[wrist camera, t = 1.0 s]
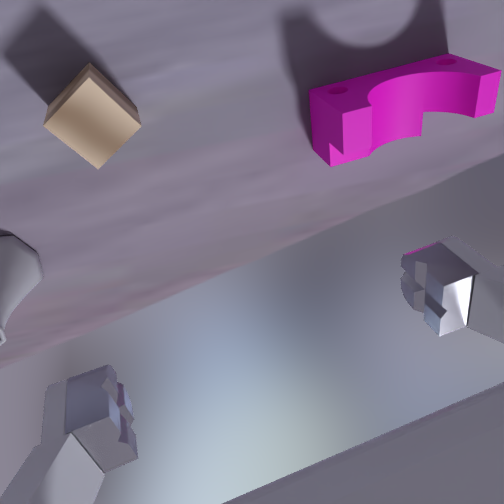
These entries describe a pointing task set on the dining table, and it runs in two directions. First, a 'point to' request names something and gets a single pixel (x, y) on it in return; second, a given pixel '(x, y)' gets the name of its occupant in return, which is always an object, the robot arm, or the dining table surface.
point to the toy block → (396, 104)
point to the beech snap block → (92, 116)
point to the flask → (16, 276)
